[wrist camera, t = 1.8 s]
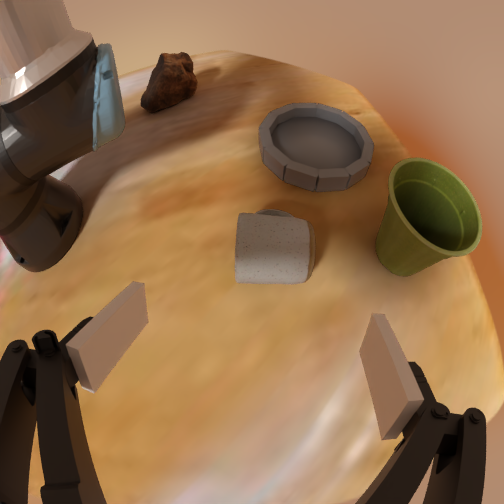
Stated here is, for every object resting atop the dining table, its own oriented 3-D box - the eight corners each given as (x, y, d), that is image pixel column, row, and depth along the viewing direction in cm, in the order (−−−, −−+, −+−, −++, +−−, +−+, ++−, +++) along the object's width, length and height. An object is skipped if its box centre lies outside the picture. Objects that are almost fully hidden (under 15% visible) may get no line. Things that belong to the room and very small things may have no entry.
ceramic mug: (307, 293, 31) (320, 266, 24) (236, 292, 31) (230, 265, 24) (302, 216, 35) (311, 178, 29) (241, 215, 36) (236, 176, 29)
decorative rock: (192, 85, 50) (184, 42, 41) (205, 95, 48) (197, 49, 38) (140, 108, 48) (125, 66, 38) (149, 120, 45) (133, 74, 36)
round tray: (238, 140, 41) (236, 126, 39) (314, 106, 45) (316, 93, 43) (314, 211, 35) (318, 198, 33) (387, 161, 39) (393, 148, 37)
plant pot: (403, 202, 36) (436, 148, 26) (447, 270, 31) (496, 230, 21) (339, 229, 34) (366, 169, 24) (387, 311, 29) (438, 276, 19)
